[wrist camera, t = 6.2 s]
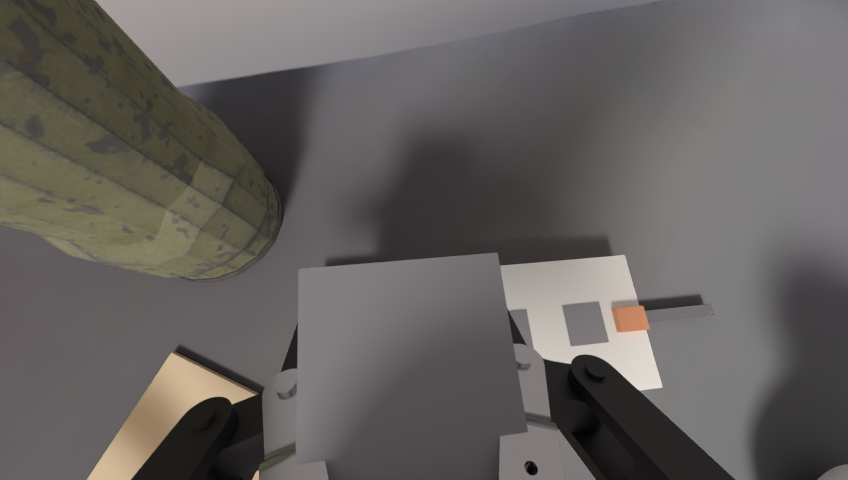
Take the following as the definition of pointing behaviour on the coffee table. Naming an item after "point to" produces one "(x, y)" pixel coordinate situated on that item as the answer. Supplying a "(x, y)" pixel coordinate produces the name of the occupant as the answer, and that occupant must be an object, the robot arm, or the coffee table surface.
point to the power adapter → (406, 369)
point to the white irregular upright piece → (836, 473)
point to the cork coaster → (163, 414)
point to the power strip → (587, 314)
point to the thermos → (120, 152)
